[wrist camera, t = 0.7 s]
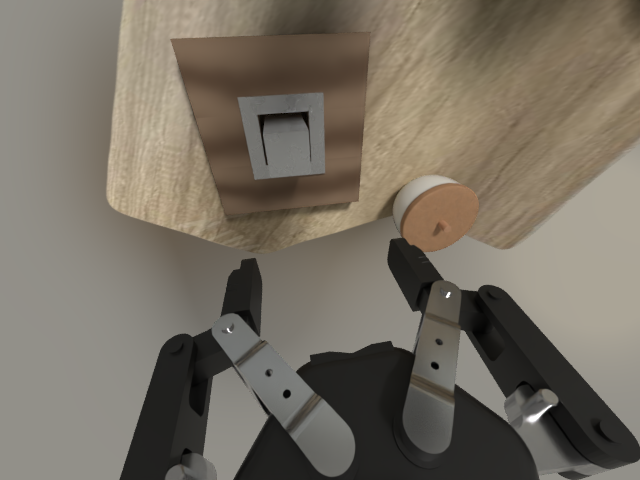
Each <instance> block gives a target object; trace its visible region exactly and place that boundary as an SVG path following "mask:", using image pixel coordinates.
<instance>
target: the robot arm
mask: <svg viewBox="0 0 640 480" xmlns="http://www.w3.org/2000/svg"><path fill="white" fill-rule="evenodd" d="M387 260H388V265H389V268H390V270H391V272H392V274H393V276H394V278H395V280H396V281H397V283H398V285H399V287H400V289H401V291H402V292H403V294H404V296H405V298H406V300H407V301H408V304H409V305H410V307H411V309H412V311H413V312H414V311H421V313H422V317H421V320H420V324H419V328H418V332H417V336H416V340H415V344H414V347H413V350H412V352H409V351H407V350H405V349H402V348H397V347H393V345H392V342H391V341H387V342H382V343H376V344H371V345H369V346H367V347H365V348H363V349H361V350H359V351H356V352H354V353H342V352H326V353H320V354H314V355H310V360H311V361H310V362H308V363H306V364H305V365H303V366H302V367H300V368H299V369H298V370H297V371H296V372H295V371H294V370H293V369H292V368H291V367H290V366H289V365H288V363H287V362H286V361H285V360H284V359H283V358H282V357H281V356H280V355H279V354H278V353H277V352H276V351H275V350H274V349H273V347H272V346H271V345H270V344H269V343H268V342H267V341H262V340H261V339H260V338H259V337H260V325H261V303H262V279H261V275H260V271H259V268H258V265H257V261H256V259H255V258H251V259H245V260H242V261H241V267H240V269H238V270H233V272H232V273H231V275H230V276H229V278H228V282H227V287H226V293H225V297H224V302H223V307H222V312H221V317H220V318H219V319H218V320H217V321H216V322H215V323H214V325H213V327H212V328H211V329H209V330H208V331H205V332H203V333H201V334H199V335H197V336H194V337H191V336H190V335H188V334H179V335H176V336H174V337H172V338H171V339H169V340H168V341H167V342H166V343H165V344H164V345H163V347H162V348H161V350H160V353H159V356H158V359H157V363H156V366H155V369H154V372H153V375H152V379H151V382H150V385H149V388H148V391H147V394H146V398H145V401H144V404H143V407H142V410H141V413H140V416H139V420H138V423H137V427H136V429H135V432H134V436H133V439H132V442H131V445H130V449H129V451H128V455H127V458H126V461H125V464H124V468H123V471H122V474H121V477H120V480H217V474H216V470H215V467H214V465H213V464H212V463H211V462H209V461H208V460H207V459H205V458H204V457H203V450H204V443H205V435H206V427H207V419H208V411H209V403H210V395H211V387H212V379H213V376H214V375H216V374H218V373H220V372H222V371H224V370H226V369H228V368H230V367H232V368H233V369H234V371H235V372H236V373H237V375H238V376H239V377H240V379H241V380H242V381H243V383H244V384H245V386H246V387H247V388H248V389H249V391H250V392H251V394H252V395H253V397H254V398H255V400H256V401H257V403H258V404H259V406H260V407H261V408H262V410H263V411H264V412H265V414H266V415H267V416H268V419H267V421H266V422H265V424H264V426H263V428H262V430H261V431H260V433H259V435H258V437H257V438H256V440H255V442H254V444H253V445H252V447H251V449H250V451H249V452H248V454H247V456H246V458H245V460H244V461H243V463H242V465H241V467H240V469H239V470H238V472H237V474H236V476H235V478H234V479H233V480H539V475H544V474H552V473H558V474H559V475H561V476H563V477H565V478H568V479H571V480H579V479H582V478H585V477H589V476H592V475H595V474H598V473H602V472H605V471H608V470H611V469H615V468H618V467H621V466H624V465H628V464H630V463H634V462H637V461H638V460H639V459H640V446H639V444H638V442H637V440H636V438H635V437H634V436H633V434H632V433H631V432H630V431H629V429H628V428H627V427H626V426H625V425H624V424H623V423H622V422H621V420H620V419H619V418H618V417H617V416H616V415H615V414H614V413H613V412H612V410H611V409H610V408H609V407H608V406H607V405H606V404H605V402H604V401H603V400H602V399H601V398H600V397H599V396H598V395H597V393H596V392H595V391H594V390H593V389H592V388H591V387H590V386H589V384H588V383H587V382H586V381H585V380H584V379H583V378H582V377H581V375H580V374H579V373H578V372H577V371H576V370H575V369H574V368H573V367H572V365H571V364H570V363H569V362H568V361H567V360H566V359H565V358H564V357H563V355H562V354H561V353H560V352H559V351H558V350H557V349H556V347H555V346H554V345H553V344H552V343H551V342H550V341H549V340H548V338H547V337H546V336H545V335H544V334H543V333H542V332H541V331H540V329H539V328H538V327H537V326H536V325H535V324H534V323H533V322H532V320H531V319H530V318H529V317H528V316H527V315H526V314H525V313H524V311H523V310H522V309H521V308H520V307H519V306H518V305H517V304H516V302H515V301H514V300H513V299H512V298H511V297H510V296H509V295H508V294H507V293H506V292H505V291H504V290H502V289H501V288H499V287H496V286H492V285H483V286H481V287H480V288H479V290H478V292H477V291H468V290H460V289H459V288H458V287H457V286H456V285H455V284H453V283H451V282H449V281H445V280H444V279H443V278H442V277H441V276H440V274H439V273H438V271H437V270H436V269H435V267H434V266H433V265H432V263H431V262H430V261H429V259H428V258H427V257H426V255H425V254H424V253H423V251H422V250H421V249H420V248H418V247H417V246H415V245H410V244H409V243H408V242H407V240H406V239H405V238H397V239H391V241H390V246H389V252H388V259H387ZM460 330H464V331H465V332H466V334H467V335H468V337H469V339H470V340H471V342H472V344H473V345H474V347H475V348H476V350H477V352H478V353H479V355H480V357H481V358H482V360H483V361H484V363H485V365H486V366H487V368H488V369H489V371H490V373H491V374H492V376H493V377H494V379H495V381H496V382H497V384H498V386H499V387H500V389H501V391H502V392H503V394H504V395H505V397H506V400H505V403H504V408H505V412H506V414H507V416H508V421H509V423H510V424H508V423H507V422H506V421H505V420H503V418H501V417H500V416H499V415H497V414H496V413H494V412H493V411H492V410H490V409H489V408H488V407H486V406H485V405H484V404H482V403H481V402H479V401H478V400H477V399H475V398H474V397H473V396H471V395H470V394H469V393H467V392H466V391H464V390H463V389H462V388H460V387H459V386H458V385H456V384H455V376H456V368H457V358H458V349H459V340H460Z"/></svg>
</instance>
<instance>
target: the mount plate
mask: <svg viewBox="0 0 640 480" xmlns="http://www.w3.org/2000/svg"><path fill="white" fill-rule="evenodd" d="M171 42H172V46H173V49H174V52H175V55H176V58H177V61H178V65H179V68H180V71H181V74H182V77H183V81H184V84H185V87H186V90H187V93H188V96H189V100H190V103H191V106H192V109H193V112H194V116H195V119H196V122H197V125H198V128H199V131H200V135H201V138H202V141H203V144H204V147H205V151H206V154H207V157H208V160H209V163H210V166H211V170H212V173H213V176H214V179H215V182H216V185H217V189H218V192H219V195H220V198H221V201H222V205H223V208H224V211H225V214H226V215H234V214H243V213H253V212H262V211H272V210H281V209H291V208H300V207H310V206H319V205H328V204H338V203H347V202H357V201H359V187H360V172H361V158H362V144H363V129H364V115H365V101H366V87H367V72H368V58H369V44H370V32H354V33H325V34H296V35H268V36H239V37H210V38H182V39H171ZM305 111H306V117H307V128H308V130H309V146H310V163H311V174H304V175H293V176H283V177H272V178H270V173H269V167H268V161H267V157H266V152H265V146H264V140H263V134H262V128H261V122H260V116H259V115H260V114H275V113H290V112H305Z"/></svg>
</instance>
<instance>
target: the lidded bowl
mask: <svg viewBox="0 0 640 480" xmlns="http://www.w3.org/2000/svg"><path fill="white" fill-rule="evenodd" d="M478 209H479V204H478V199H477V196H476V195H475V193H474V192H473V191H472V190H471V189H469V188H467V187H466V186H464V185H461V184H460V183H458V182H456V181H455V180H453V179H450V178H448V177H445V176H441V175H425V176H421V177H418V178H415V179H413V180H411V181H410V182H408V183H407V184H406V185H405V186H404V187H403V188H402V189H401V190H400V191H399V193H398V194H397V196H396V198H395V201H394V204H393V219H394V223H395V225H396V228H397V230H398V231H399V233H400V234H401V236H402V238H405V239H406V240H407V242H408V243H409V244H410V245H415V246H417V247H418V248H420V249H421V250H422V251H423V252H433V251H437V250H441V249H443V248H446V247H448V246H450V245H452V244H453V243H455V242H456V241H458V240H459V239H460V238H461V237H462V236H464V235H465V234H466V233H467V232H468V230H469V229H470V228H471V227H472V225H473V223H474V221H475V219H476V217H477V214H478Z"/></svg>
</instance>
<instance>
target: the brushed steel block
mask: <svg viewBox="0 0 640 480" xmlns="http://www.w3.org/2000/svg"><path fill="white" fill-rule="evenodd" d="M263 137H264V143H265V149H266V155H267V161H268V167H269V173H270V178H272V177H283V176H293V175H304V174H311V163H310V146H309V130H308V128H307V126H306V124H305V122H304V120H303V117H302V115H301V113H300V114H285V115H270V116H265V122H264V130H263Z"/></svg>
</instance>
